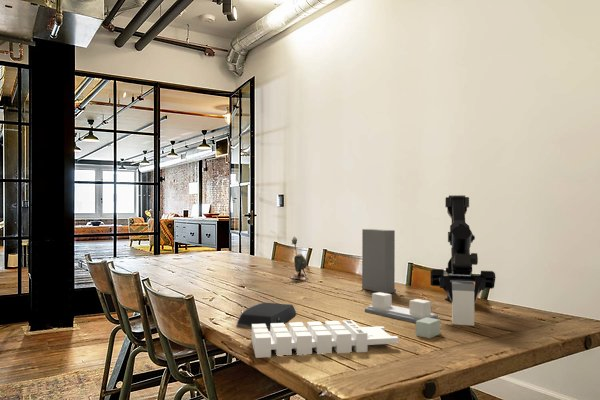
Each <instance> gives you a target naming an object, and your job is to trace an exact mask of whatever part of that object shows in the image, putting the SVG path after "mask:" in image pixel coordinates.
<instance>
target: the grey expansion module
mask: <svg viewBox="0 0 600 400" xmlns="http://www.w3.org/2000/svg"><path fill="white" fill-rule="evenodd" d="M474 289H475V282H465V281H452V295H453V302H451V322H452V325H459V326H475V303H474Z"/></svg>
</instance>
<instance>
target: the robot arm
mask: <svg viewBox="0 0 600 400" xmlns="http://www.w3.org/2000/svg"><path fill="white" fill-rule="evenodd" d="M444 200H445V208H446V209H447V214H448V216H449V218H450V219H451V224H450V225H449V231H447V242H448V243H449V245H450V246H451V249H450V251H451V252H450V254H451V256H450V259H449V260H448V262H447V267H445V271H444V268H432V269H431V270H430V286H432V287H439V288H440V289H443V291H444V292H445V293H446V295H447V296H446V297H445V298H444V300H446V301H449V302H451V303H452V302H453V295H452V281H465V282H473V283H474V304H476V302H477V300H478V297H479V295H480V293H481V291H485V289H487V290H488V289H491V290H493V289H494V288H495V284H496V272H495V271H493V270H480V275H479V274H478V275H476V274H475V275H474V274H473V266H477V265H478V264H479V261H478V260H479V258H478V257H479V256H478V253H477V252H476V253H475V252H471V250H470V249H471V245H472V244H473V241H475V239H476V236H475V234H473V232H472V230H471V228H470V225H469V224H468V223H466V214H467V211H468V208H469V207H470V197H468V196H466V195H462V194H461V195H459V194H458V195H456V194H455V195H453V194H452V195H450V194H449V195H448V196H447V197H445V199H444Z"/></svg>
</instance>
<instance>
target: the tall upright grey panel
mask: <svg viewBox="0 0 600 400" xmlns="http://www.w3.org/2000/svg"><path fill="white" fill-rule="evenodd" d="M361 233H362V234H361V235H362V237H361V239H362V241H361V242H362V243H361V245H362V248H361V249H362V252H361V254H362V256H361V259H362V261H361V262H362V264H361V266H362V267H361V269H362V270H361V274H362V277H361V278H362V279H361V283H362V284H361V289H362V290H368V291H372V292H375V293H378V292H381V293H387V294H393V292H394V293H397V289H396V288H395V268H396V267H395V265H396V264H395V261H396V260H395V257H396V255H395V250H396V249H395V246H396V245H395V244H396V243H395V241H396V240H395V239H396V237H395V235H396V233H395V230H393V229H378V228H377V229H375V228H363V229H362V231H361Z"/></svg>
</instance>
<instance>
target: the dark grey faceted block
mask: <svg viewBox="0 0 600 400" xmlns="http://www.w3.org/2000/svg"><path fill="white" fill-rule="evenodd" d="M296 311H297V310H296V309H295V307H294V305H293V304H290V303H289V304H287V303H274V302H265V301H264V302H261V303H257V304H254V305H252V306H250V307H248V308H246V309H245V310H244V311H243V312H241V313H240V315H239V317H238V319H237V322H236V326H237V327H247V328H252V324H266V326H267V329H268V330H270V323H285V324H286V323H289V322H290V321H291V320H292V319H293V318H294V317H296V316H297V312H296Z"/></svg>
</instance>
